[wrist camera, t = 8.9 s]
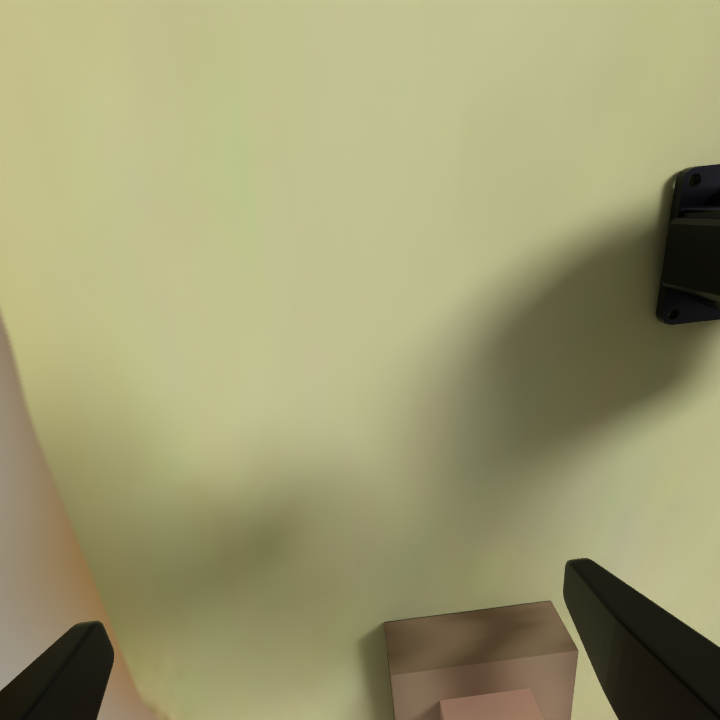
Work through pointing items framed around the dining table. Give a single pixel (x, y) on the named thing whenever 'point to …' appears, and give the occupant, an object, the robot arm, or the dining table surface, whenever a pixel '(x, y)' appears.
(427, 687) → the plinth
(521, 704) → the cube
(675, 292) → the robot arm
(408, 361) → the dining table surface
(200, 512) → the dining table surface
